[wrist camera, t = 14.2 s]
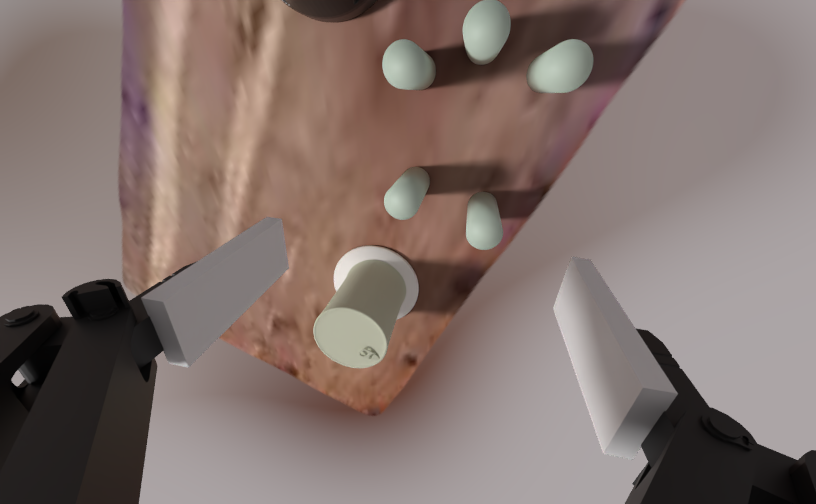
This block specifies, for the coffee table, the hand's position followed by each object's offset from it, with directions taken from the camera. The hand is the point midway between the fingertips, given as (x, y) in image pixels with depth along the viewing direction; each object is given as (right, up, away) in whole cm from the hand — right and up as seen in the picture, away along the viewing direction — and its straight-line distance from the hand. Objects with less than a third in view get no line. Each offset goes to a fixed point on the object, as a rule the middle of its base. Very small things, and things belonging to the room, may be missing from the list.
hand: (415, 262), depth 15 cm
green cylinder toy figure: (-5, -5, +33) cm, 34 cm away
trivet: (-5, -4, +33) cm, 34 cm away
